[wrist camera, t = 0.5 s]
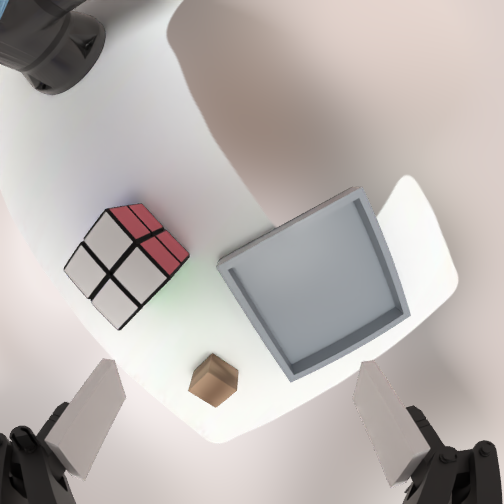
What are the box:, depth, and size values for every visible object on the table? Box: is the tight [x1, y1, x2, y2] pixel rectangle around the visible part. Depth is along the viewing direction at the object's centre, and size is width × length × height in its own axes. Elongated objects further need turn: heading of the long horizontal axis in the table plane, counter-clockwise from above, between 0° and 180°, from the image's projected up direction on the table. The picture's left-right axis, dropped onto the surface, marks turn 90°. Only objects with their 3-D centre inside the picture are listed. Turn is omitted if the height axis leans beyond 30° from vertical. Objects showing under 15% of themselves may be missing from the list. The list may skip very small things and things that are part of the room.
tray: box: [216, 187, 411, 382], centre depth 36 cm, size 20×20×4 cm
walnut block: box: [188, 353, 238, 408], centre depth 38 cm, size 5×5×5 cm
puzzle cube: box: [64, 204, 189, 330], centre depth 31 cm, size 10×10×10 cm
